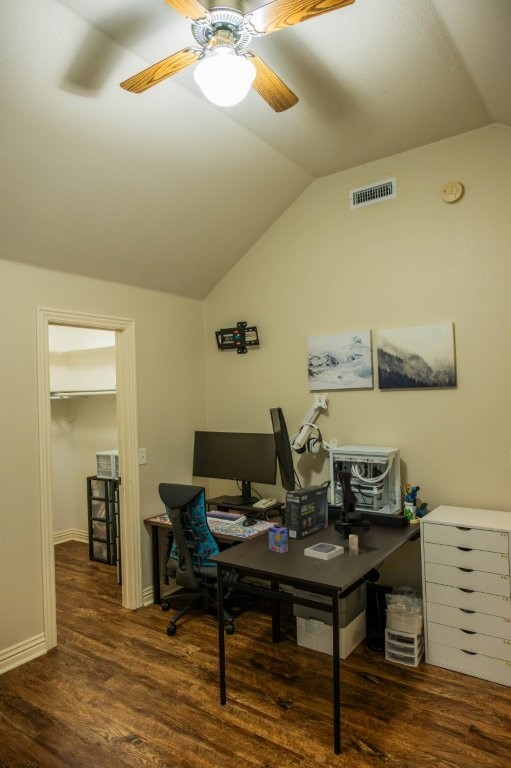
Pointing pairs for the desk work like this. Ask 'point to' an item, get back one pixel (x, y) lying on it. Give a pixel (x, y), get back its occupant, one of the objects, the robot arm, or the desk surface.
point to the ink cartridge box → (278, 539)
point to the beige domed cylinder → (353, 545)
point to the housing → (324, 551)
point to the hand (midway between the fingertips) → (353, 540)
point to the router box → (306, 511)
